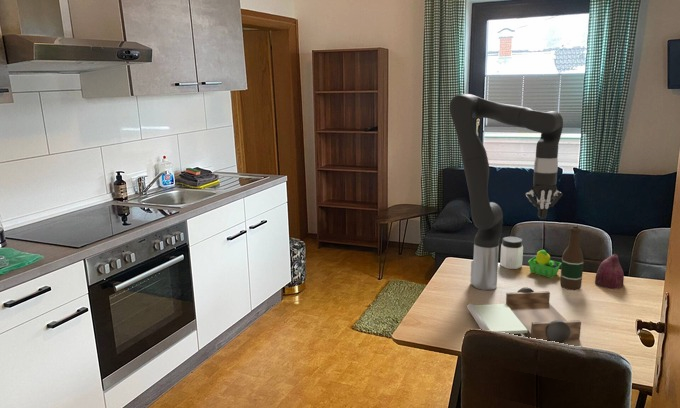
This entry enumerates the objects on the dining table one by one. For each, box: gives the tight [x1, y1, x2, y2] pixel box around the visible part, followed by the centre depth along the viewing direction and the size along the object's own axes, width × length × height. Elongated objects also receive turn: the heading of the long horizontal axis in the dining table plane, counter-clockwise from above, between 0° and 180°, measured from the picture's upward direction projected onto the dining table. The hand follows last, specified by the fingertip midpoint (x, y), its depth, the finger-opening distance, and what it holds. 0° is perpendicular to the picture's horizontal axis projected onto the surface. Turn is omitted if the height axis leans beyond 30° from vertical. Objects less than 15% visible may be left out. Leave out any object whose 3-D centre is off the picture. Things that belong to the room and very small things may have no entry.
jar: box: [499, 236, 524, 270], centre depth 217 cm, size 9×8×12 cm
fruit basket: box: [527, 249, 562, 279], centre depth 207 cm, size 11×9×11 cm
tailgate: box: [466, 303, 528, 335], centre depth 167 cm, size 2×19×14 cm
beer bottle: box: [559, 226, 584, 291], centre depth 193 cm, size 8×8×24 cm
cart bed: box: [505, 286, 582, 344], centre depth 167 cm, size 15×27×7 cm, turn 2°
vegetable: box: [594, 253, 625, 290], centre depth 195 cm, size 10×10×15 cm
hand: (542, 218), depth 178 cm, fingers closed
